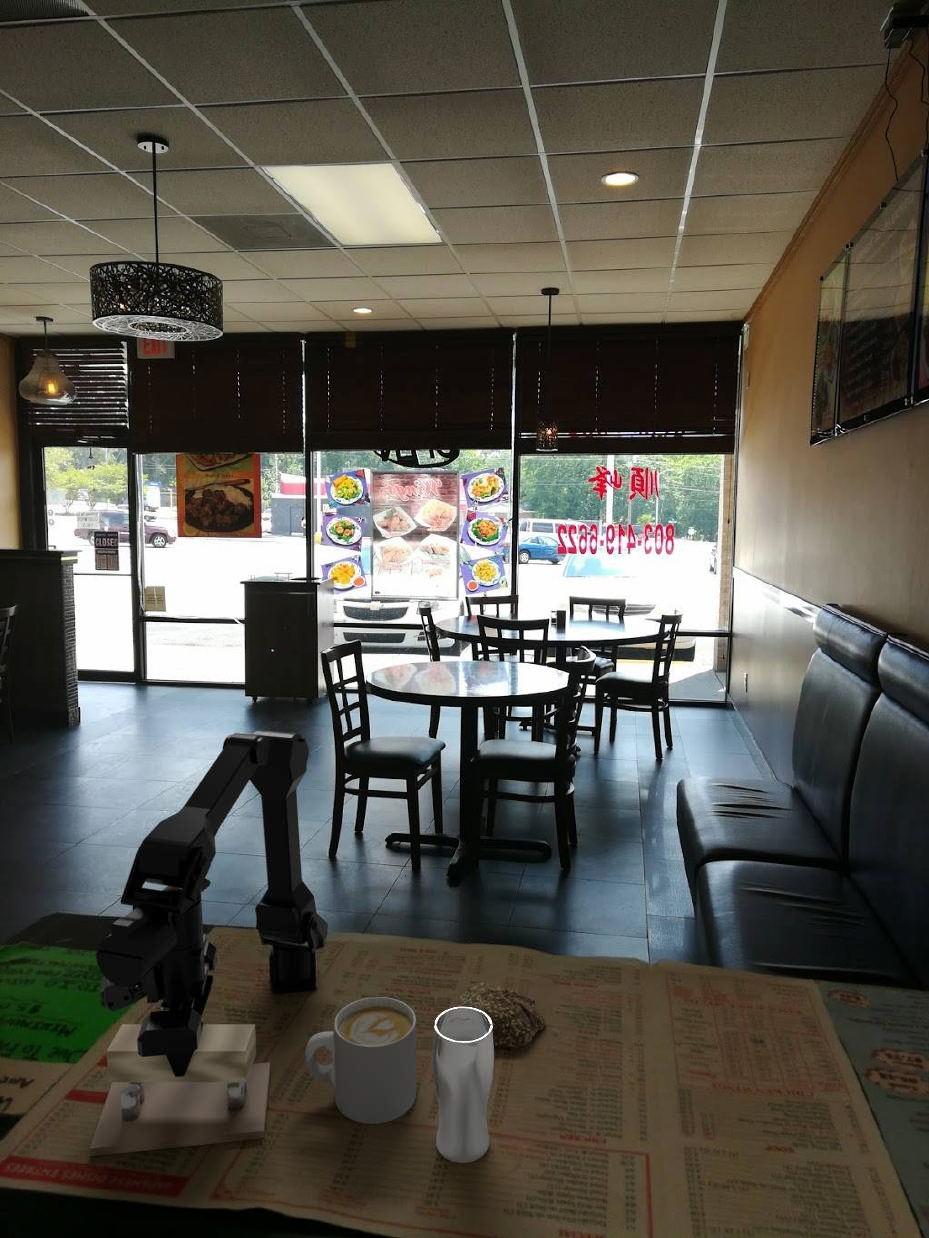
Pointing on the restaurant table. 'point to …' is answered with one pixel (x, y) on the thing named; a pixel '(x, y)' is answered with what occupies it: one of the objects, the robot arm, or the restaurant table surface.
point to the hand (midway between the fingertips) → (183, 1059)
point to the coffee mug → (369, 1059)
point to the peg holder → (182, 1114)
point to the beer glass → (463, 1081)
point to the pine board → (215, 1060)
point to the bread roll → (505, 1014)
